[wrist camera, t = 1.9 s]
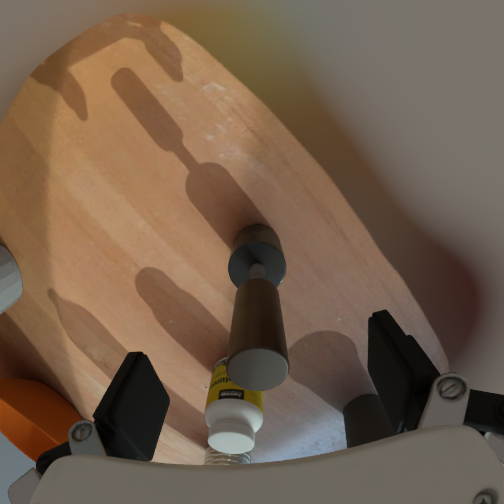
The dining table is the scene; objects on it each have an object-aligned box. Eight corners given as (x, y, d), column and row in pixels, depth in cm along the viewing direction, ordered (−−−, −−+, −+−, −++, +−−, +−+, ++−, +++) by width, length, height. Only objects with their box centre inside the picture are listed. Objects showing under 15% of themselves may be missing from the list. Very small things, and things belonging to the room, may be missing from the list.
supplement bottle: (249, 346, 27) (245, 422, 18) (270, 379, 29) (273, 451, 20) (203, 361, 28) (187, 433, 19) (227, 392, 30) (220, 461, 21)
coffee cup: (392, 379, 29) (420, 437, 20) (386, 414, 32) (407, 466, 23) (331, 397, 30) (348, 462, 21) (334, 429, 33) (346, 486, 23)
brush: (224, 253, 24) (187, 378, 10) (249, 214, 23) (239, 308, 9) (263, 276, 25) (270, 414, 11) (289, 240, 24) (332, 357, 10)
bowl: (55, 439, 40) (40, 469, 30) (-13, 353, 32) (-39, 381, 22) (139, 455, 37) (125, 497, 28) (54, 350, 29) (17, 396, 20)
